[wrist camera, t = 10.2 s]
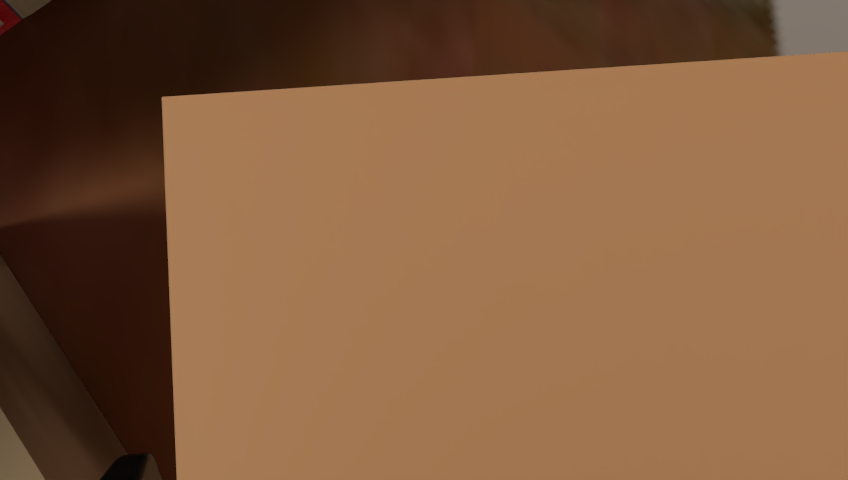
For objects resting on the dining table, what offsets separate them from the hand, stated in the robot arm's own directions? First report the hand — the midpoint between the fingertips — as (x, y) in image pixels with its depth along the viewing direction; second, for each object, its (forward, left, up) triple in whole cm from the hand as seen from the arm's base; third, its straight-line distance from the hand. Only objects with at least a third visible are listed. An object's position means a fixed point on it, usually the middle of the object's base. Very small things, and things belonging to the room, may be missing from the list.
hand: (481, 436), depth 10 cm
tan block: (+1, 0, -8) cm, 8 cm away
